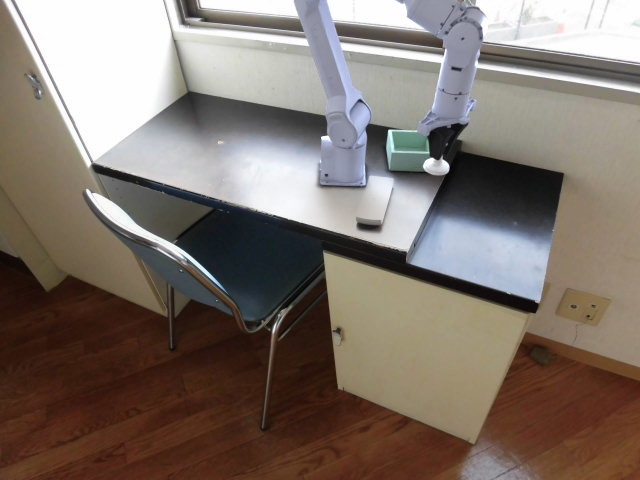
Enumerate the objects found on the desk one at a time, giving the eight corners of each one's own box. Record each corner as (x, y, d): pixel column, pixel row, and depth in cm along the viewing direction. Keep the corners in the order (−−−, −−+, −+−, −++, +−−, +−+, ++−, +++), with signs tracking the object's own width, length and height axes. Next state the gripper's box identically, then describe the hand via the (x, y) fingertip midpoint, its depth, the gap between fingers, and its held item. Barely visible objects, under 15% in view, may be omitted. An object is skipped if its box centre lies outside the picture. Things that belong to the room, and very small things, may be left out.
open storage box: (389, 170, 103) (391, 152, 100) (386, 147, 110) (388, 129, 107) (432, 171, 103) (436, 153, 100) (426, 148, 110) (430, 130, 106)
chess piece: (421, 160, 93) (430, 114, 87) (446, 161, 93) (457, 115, 87) (424, 175, 90) (434, 128, 83) (450, 176, 90) (462, 129, 83)
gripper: (447, 109, 75) (432, 179, 84) (498, 82, 82) (478, 150, 91) (412, 93, 78) (401, 162, 88) (463, 69, 86) (448, 135, 95)
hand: (438, 155), depth 90 cm, fingers closed on chess piece
